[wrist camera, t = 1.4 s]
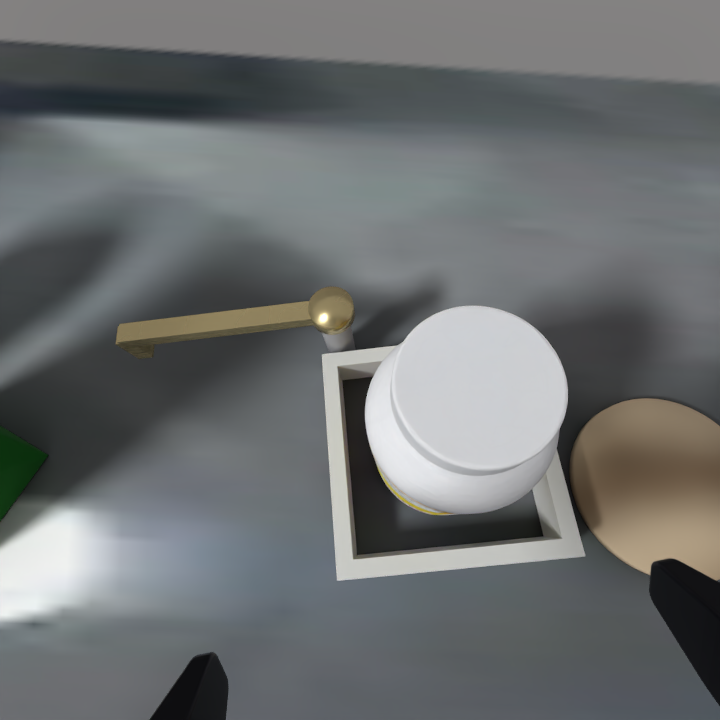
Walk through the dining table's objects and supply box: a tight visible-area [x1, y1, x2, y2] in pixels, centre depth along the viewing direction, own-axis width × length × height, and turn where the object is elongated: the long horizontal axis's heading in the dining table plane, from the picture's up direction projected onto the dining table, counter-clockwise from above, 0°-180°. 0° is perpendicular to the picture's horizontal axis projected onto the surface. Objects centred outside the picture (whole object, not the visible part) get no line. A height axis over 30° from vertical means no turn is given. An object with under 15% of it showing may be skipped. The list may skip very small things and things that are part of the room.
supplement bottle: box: [365, 306, 568, 515], centre depth 17 cm, size 7×7×13 cm
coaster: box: [569, 398, 720, 580], centre depth 21 cm, size 9×9×1 cm
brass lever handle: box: [116, 287, 355, 359], centre depth 21 cm, size 2×12×2 cm, turn 96°
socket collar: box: [322, 326, 585, 581], centre depth 21 cm, size 13×11×5 cm
